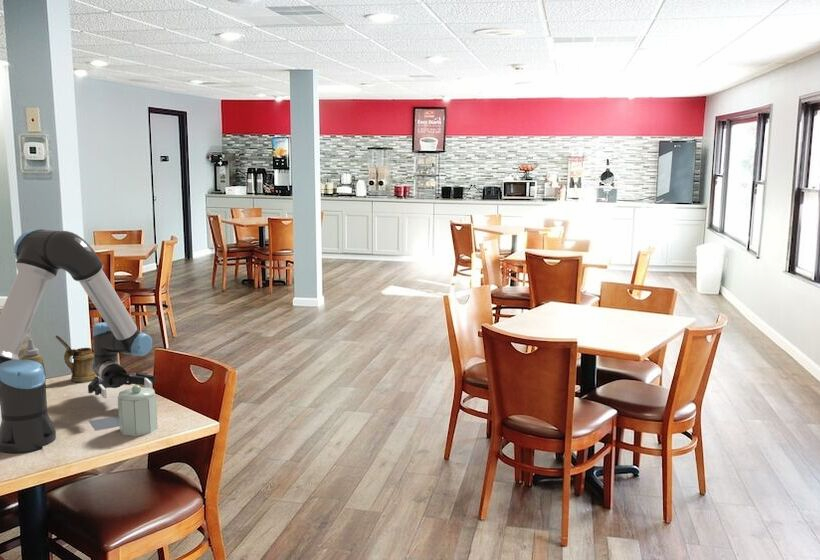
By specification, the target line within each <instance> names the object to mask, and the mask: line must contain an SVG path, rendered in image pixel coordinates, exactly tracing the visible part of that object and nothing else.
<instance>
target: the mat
mask: <svg viewBox="0 0 820 560" xmlns="http://www.w3.org/2000/svg"><path fill="white" fill-rule="evenodd" d="M88 422H89V424H90V425H91V426H92V428H93V430H94V431H102V430H107V429H112V428H119V427H120V426H119V415H114V416H109V417H104V418H103V417H102V418H97V419H94V420H93V419H91V420H88Z"/></svg>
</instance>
